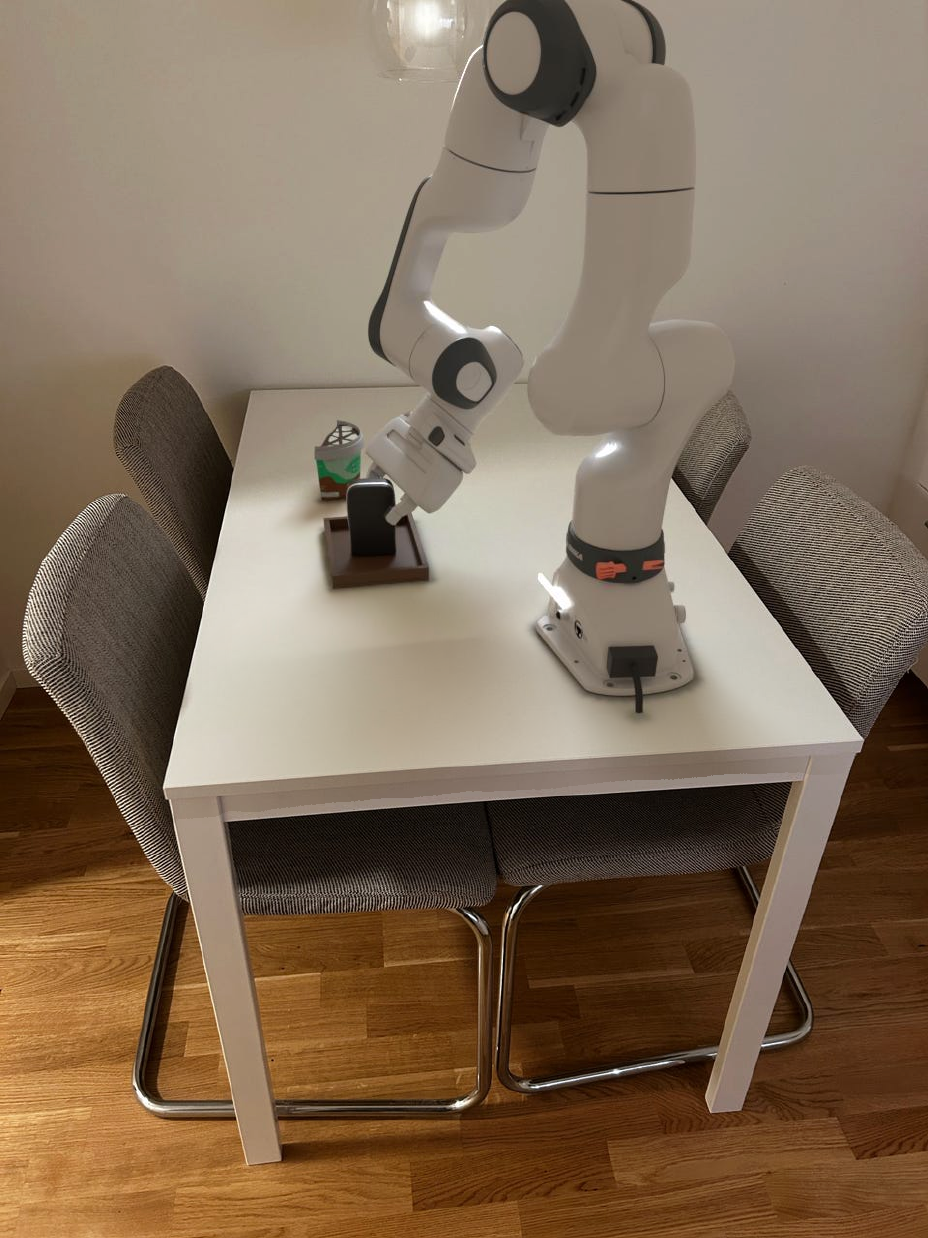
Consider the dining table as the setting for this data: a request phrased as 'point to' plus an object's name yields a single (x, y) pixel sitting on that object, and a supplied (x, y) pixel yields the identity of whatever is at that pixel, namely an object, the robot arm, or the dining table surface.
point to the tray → (375, 557)
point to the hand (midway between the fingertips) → (375, 507)
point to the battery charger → (370, 517)
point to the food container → (339, 460)
